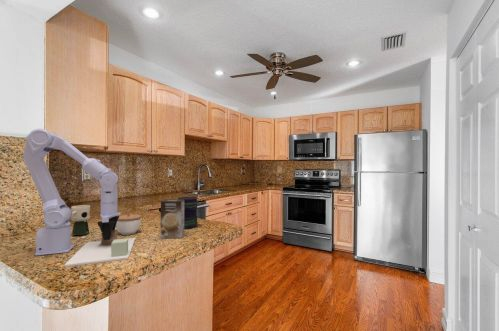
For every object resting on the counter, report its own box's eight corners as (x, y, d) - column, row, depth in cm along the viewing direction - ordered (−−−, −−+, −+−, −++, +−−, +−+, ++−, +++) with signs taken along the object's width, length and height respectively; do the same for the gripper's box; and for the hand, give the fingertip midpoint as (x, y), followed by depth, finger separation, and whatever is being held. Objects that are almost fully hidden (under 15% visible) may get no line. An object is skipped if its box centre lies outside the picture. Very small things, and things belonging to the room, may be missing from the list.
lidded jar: (131, 229, 117) (131, 210, 117) (146, 231, 112) (146, 212, 112) (109, 234, 108) (110, 214, 108) (125, 237, 103) (125, 216, 103)
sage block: (111, 257, 78) (111, 243, 78) (113, 252, 83) (113, 239, 83) (126, 255, 80) (126, 241, 80) (128, 251, 84) (128, 238, 84)
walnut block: (101, 245, 90) (101, 233, 90) (104, 242, 95) (104, 230, 95) (114, 244, 92) (114, 232, 92) (116, 240, 96) (116, 229, 96)
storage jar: (200, 227, 119) (199, 198, 120) (180, 230, 115) (180, 199, 115) (194, 223, 128) (194, 196, 128) (175, 226, 123) (175, 197, 123)
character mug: (79, 238, 102) (79, 208, 102) (63, 238, 102) (63, 208, 102) (96, 231, 113) (96, 204, 113) (81, 231, 113) (81, 204, 113)
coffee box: (159, 238, 101) (159, 201, 101) (164, 234, 107) (164, 199, 108) (181, 238, 101) (181, 200, 102) (184, 234, 108) (184, 199, 108)
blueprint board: (63, 267, 72) (63, 264, 72) (86, 243, 94) (86, 242, 94) (128, 259, 78) (128, 257, 78) (135, 239, 101) (135, 237, 101)
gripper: (117, 204, 88) (117, 241, 88) (123, 199, 102) (123, 231, 101) (95, 205, 86) (95, 243, 85) (104, 200, 99) (104, 233, 99)
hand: (109, 237), depth 93 cm, fingers open, 7 cm apart
